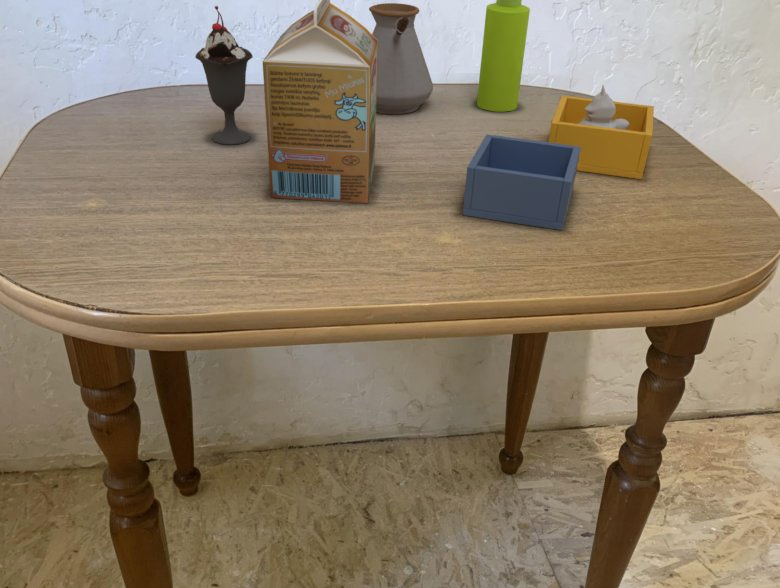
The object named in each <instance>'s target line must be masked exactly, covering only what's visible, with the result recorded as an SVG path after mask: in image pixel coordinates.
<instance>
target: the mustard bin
mask: <svg viewBox="0 0 780 588" xmlns="http://www.w3.org/2000/svg"><path fill="white" fill-rule="evenodd" d="M592 100H593V98H587V97H580V96H579V97H578V96H571V95H569V96H568V95H563V94H562V95H561V97H560V99H559V102H558V105H557V107H556V110H555V112H554V114H553V118H552V120H551V123H550V127H549V135H548V140H547V142H549V143H557V144H565V145H572V146H579V147H581V150H580V155H579V160H578V166H577V171H576V172H585V173H591V174H592V173H593V174H598V175H599V174H600V175H605V176H607V175H608V176H614V177H622V178H629V179H637V180H642V179H643V176H644V171H645V167H646V163H647V159H648V154H649V151H650V147H651V144H652V143H651V141H652V138H653V130H654V111H655V106H654V105H647V104H639V103H629V102H621V101H613V102H614V104H615V109H616V112H615V115H614V116H613V118H612V119H611V120H612V121H613V120H616V119H625V120H627V121H628V122H629V127H628V129H627V130H622V129H614V128H606V127H598V126H590V125H582V124H579V123H580V122H581V121H582V120H583V119H584V118H585V117H588V116H587V115H586V112H587V111H586V110H585V108H586V106H588V105H589V104H590V103H591V102H592Z"/></svg>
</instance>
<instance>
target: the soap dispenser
mask: <svg viewBox="0 0 780 588" xmlns="http://www.w3.org/2000/svg"><path fill="white" fill-rule="evenodd" d="M522 1H523V0H495V2H493V3H489V4H487V5H486V6H485V7H486V8H485V9H486V10H485V20H484V28H483V30H484V31H483V37H482V48H481V57H480V69H479V77H478V87H477V88H478V89H477V98H476V106H477V107H478V108H479V109H482V110H485V111H490V112H496V113H505V112H506V113H507V112H513V111H515V110H517V108H518V103H519V96H520V87H521V82H522V81H521V79H522V73H523V66H524V59H525V57H524V56H525V50H526V44H527V43H526V42H527V36H528V35H527V34H528V29H529V19H530V14H531V13H530V11H531V8H530V7H528V6H526V5H523V4H522Z"/></svg>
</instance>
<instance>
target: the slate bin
mask: <svg viewBox="0 0 780 588" xmlns="http://www.w3.org/2000/svg"><path fill="white" fill-rule="evenodd" d="M580 150H581V147H579V146H572V145H565V144H557V143H549V142H548V141H541V140H533V139H526V138H519V137H511V136H510V137H509V136H504V135H503V136H502V135H496V134H495V135H494V134H485V136H484V138H483V139H482V141H481V143H480V145H479V146H478V148H477V150H476V151H475V153H474V155H473V157H472V158H471V160H470V162H469V163H468V165H467V167H466V176H465V187H464V196H463V206H462V216H465V217H473V218H479V219H485V220H492V221H498V222H504V223H505V222H506V223H512V224H516V225H517V224H518V225H525V226H531V227H537V228H544V229H551V230H556V231H563V230H564V228H565V227H564V226H565V222H566V219H567V215H568V211H569V207H570V203H571V200H572V195H573V192H574V186H575V180H576V176H577V172H578V171H577V166H578V160H579V155H580Z"/></svg>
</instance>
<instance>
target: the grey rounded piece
mask: <svg viewBox="0 0 780 588" xmlns="http://www.w3.org/2000/svg"><path fill="white" fill-rule="evenodd" d="M592 99H593V100H592V102H591V103H590V104H589V105H588V106H586V108H585V110H586V111H587V112H586V115H587V116H588V117H585V118H584V119H583V120H582V121H581V122H580V123H579V124H582V125H590V126H598V127H606V128H614V129H622V130H627V129H628V127H629V122H628V121H627V120H625V119H616V120H613V121H612V120H611V119H612V118H613V116H614V115H615V112H616V109H615V104H614V102H615V101H614V100H613V99H612V98H611V97H610V95H609V94H608V93H606V89H605V85H604V84H602V87H601V90H600V92H599V93H597V94H596V95H594V96H593V98H592Z"/></svg>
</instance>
